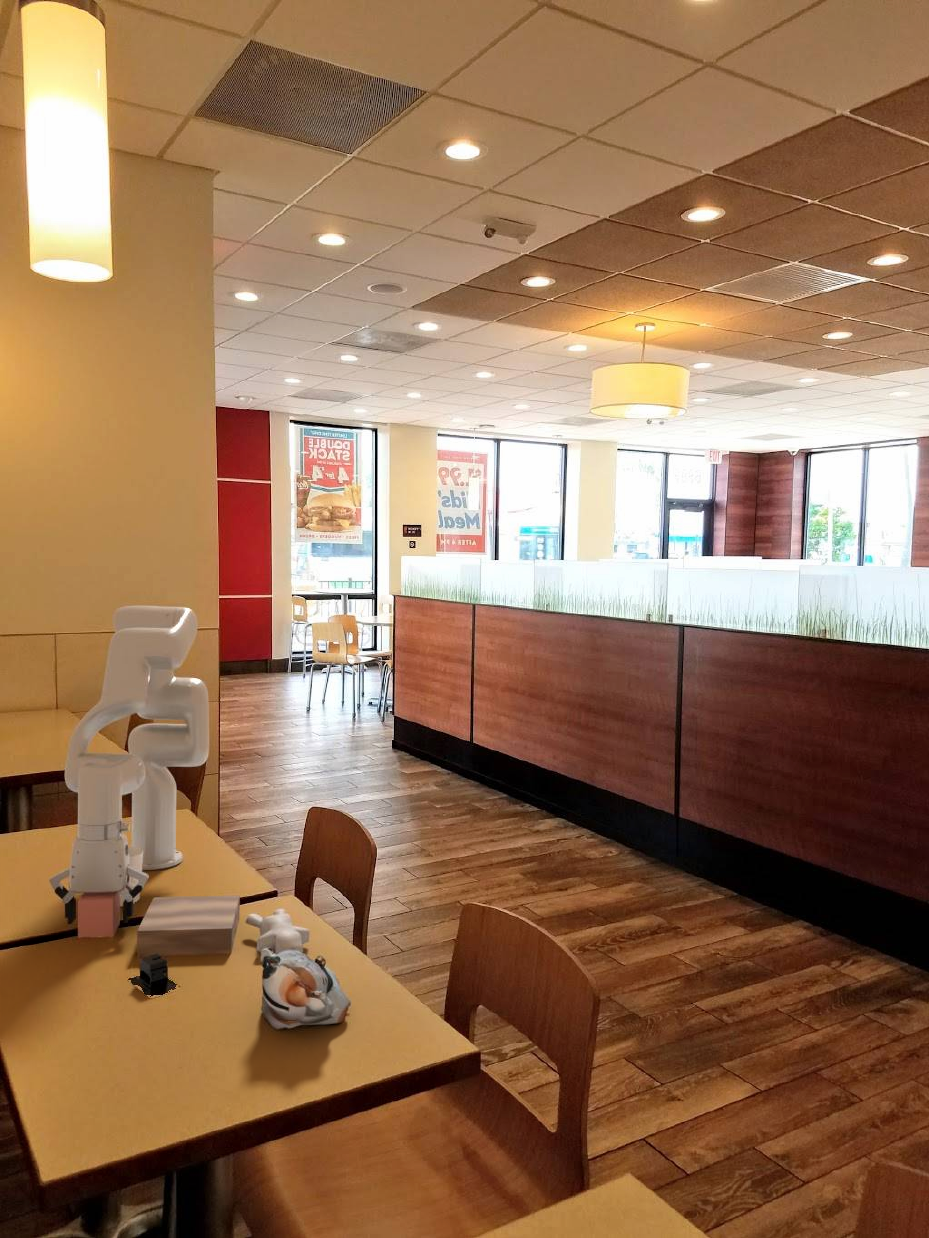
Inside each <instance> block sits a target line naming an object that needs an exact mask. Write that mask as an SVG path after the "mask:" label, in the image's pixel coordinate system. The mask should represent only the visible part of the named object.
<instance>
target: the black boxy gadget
mask: <svg viewBox="0 0 929 1238" xmlns="http://www.w3.org/2000/svg"><path fill="white" fill-rule="evenodd" d="M139 974H140V976H136V977H134V978H129V979H128V980H131V983H132V984H131V983H130V984H131V985H132V986H134V985H138V986H140V987H141V988H142V990H143V992H144V994H143V995H145V996H146V995H151V996H153V995H162V996H164V995H163V994H165V993H168V991H169V990H171V989H172V990H174V989H176V988H175V987H176V985H177V984H178V983H176V982H175V981H174V980H172V979H171V980H172V981H171V980H169V979H170V978H169V967H168V960H167V959H166V958H164V957H162V956H160V955H158V954H154V955H150V956H142V957H140V962H139ZM168 978H169V979H168ZM128 980H127V981H128ZM173 981H174V982H175V983H176V984H175V983H174V982H173ZM169 992H170V991H169ZM168 994H169V993H168ZM165 995H166V994H165ZM151 996H150V997H151Z"/></svg>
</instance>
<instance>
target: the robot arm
mask: <svg viewBox="0 0 929 1238" xmlns="http://www.w3.org/2000/svg"><path fill="white" fill-rule="evenodd" d="M112 625H113V629H114V632H115V633H113V635H112V636H111V639H110V643H109V647H108V653H107V659H106V665H105V672H104V679H103V684H102V691H101V692H102V693H101V697H100V699H99V701H98V702H97V703H96V704H95V705H94V706H92V708H91V709H90V710H88V712H86V713H85V715H84V716H83V717H82V718H81V719H80V721H79V722H78V724H77V725H76V726H75V728H74V730H73V732H72V734H71V735H70V739H69V741H68V743H69V744H68V749H67V753H66V754H67V755H66V759H65V760H66V761H65V764H64V765H65V766H64V780H65V781H64V782H65V785H66V787H67V788H68V789H69V790H70V791H72V792H73V793H74V792H75V793H77V835H76V836H74V838H73V843H72V848H71V855H70V862H69V867H68V868H65V869H64V870H62V871H59V872H58V873H56V874H54V875H51V877H50V878H49V884H50V885H51V887H52V889H53V890H54V894H55V895H56V896H58V897H59V898H60V899H61V900H62V903H63V904H64V918H65V919H67V925H72V924H74V922H75V920H76V919H77V899H76V896H75V895H77V894H83V893H106V892H119V893H120V894H121V895H122V896H123V897H124V898H125V900H124V902H123V906H122V923H124V924H127V923H128V921H129V920H130V917H133V914H134V904H133V898H134V897H136V896H137V895H138V894H139V893H140V894H141V892H142V891H143V888H144V887H145V885H146V883H147V882H148V880H149V877H150V875H149V874H148V873H146V872H144V871H155V870H163V869H167V868H172V867H174V866H177V865H178V864H180V863H181V862H183V853H182V852H181V851H179V850H177V848H176V847H177V846H176V845H177V843H176V842H177V839H176V837H177V836H176V835H177V834H176V833H177V783H176V781H175V778H174V776H173V775H172V773H171V772H170V770H169V769H168V767H183V768H184V767H185V768H187V767H188V768H189V767H190V768H192V767H200V766H202V765H203V764H205V763H206V761H207V760H208V758H209V753H210V706H209V705H210V702H209V691H208V687H207V685H206V684H205V682H204V681H203V680H201V679H200V678H195V677H176V676H175V675H174V670H176V669H179V668H180V667H181V666H182V665H183V664H184V662H185V661H186V659H187V656H188V655H189V652H190V650H191V648H192V646H193V644H194V642H195V640H196V638H197V633H198V628H199V626H198V625H199V623H198V618H197V615H196V613H195V612H194V611H193V610H192V609H191V608H189V607H184V606H162V605H161V606H160V605H159V606H157V605H127V606H126V605H125V606H122V607H118V608H117V609H116V610H115V611H114V613H113V616H112ZM134 714H137V715H138V716H139V717H140V718H142V719H146V720H159V721H160V720H161V721H162V720H163V721H168V720H169V721H183V722H184V723H158V722H157V723H154V722H153V723H144V724H139V725H138V726H136V727H134V728H133V729H132V730H131V732H130V733H129V736H128V740H127V746H128V747H127V748H128V753H108V752H107V753H102V752H88V749H89V746H90V744H91V741H92V739H93V738H94V736H96V734H97V733H98V732H100V731H101V730H102V729H103V728H105V727H106V726H108V725H109V724H112V723H113V722H116V721H118V720H121V719H123V718H126V717H128V716H132V715H134ZM129 794H131V823H126V822H124V820H123V819H124V818H123V817H122V816H123V811H122V809H123V808H122V807H123V800H122V799H123V798H122V797H123V796H126V795H129ZM130 828H131V846H133V847H139V848H141V849H142V850H143V864H142V871H140V870H137V869H135V868H133V867H131V866H130V858H129V848H128V846H129V842H128V841H129V840H128V837H127V834H125V832H126V831H127V832H128V831H130ZM130 876H131V877H133V878H135V879H137V880H138V881H139V882H138V884H137V885H136V886H135V887H134V888H133V889H132V888H131V887H130V885H129V884H128V882H129V881H130ZM66 878H68V889H67V888H66V887H65V886H64V885H62V882H61V881H64V880H65V879H66Z"/></svg>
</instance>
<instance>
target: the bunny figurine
mask: <svg viewBox="0 0 929 1238" xmlns="http://www.w3.org/2000/svg"><path fill="white" fill-rule="evenodd" d="M245 923H246V924H247V925H250V926H252V927H256V928H257V929H259V934H260V936H259V937H257V938H256V950H257V951H258V952H261V950H263V949H264V948H267V947H271V949H272V950H273V952H274V953H275V954H278V953H280V952H282V951H285V950H297V951H300V952H301V953H302V954H303V953H304V946H303V945H305V944H306V943H308V942H309V941H310V930H309V928H305V927H302V926H301V927H300V926H296V925H293V921H292V917H291V915H290V914H288V913H286V910H285V909H284V908H278V909H276V910H274V911H273V915H268V916H265V917H262V916H261V915H259V914H257V913H249V914H248V915H247V918H246V920H245Z"/></svg>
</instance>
